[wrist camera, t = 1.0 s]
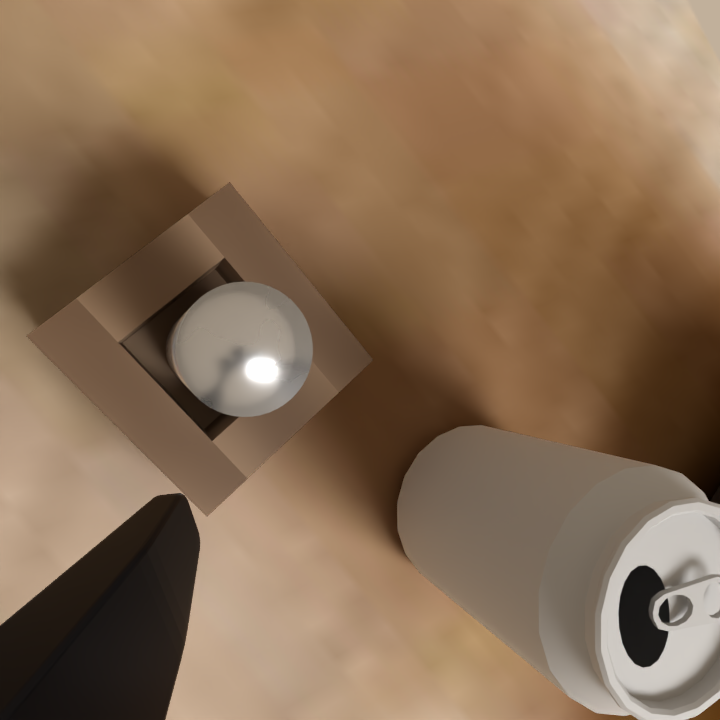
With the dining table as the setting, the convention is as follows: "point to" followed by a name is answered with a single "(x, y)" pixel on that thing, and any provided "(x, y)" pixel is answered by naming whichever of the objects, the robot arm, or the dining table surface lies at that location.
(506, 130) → the dining table surface
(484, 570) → the can
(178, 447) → the socket block
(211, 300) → the pin
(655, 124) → the dining table surface
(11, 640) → the robot arm
